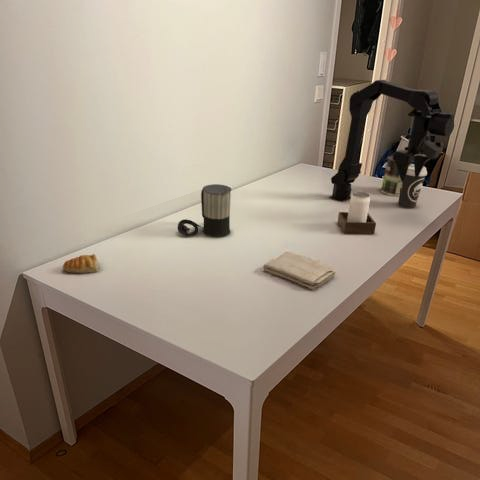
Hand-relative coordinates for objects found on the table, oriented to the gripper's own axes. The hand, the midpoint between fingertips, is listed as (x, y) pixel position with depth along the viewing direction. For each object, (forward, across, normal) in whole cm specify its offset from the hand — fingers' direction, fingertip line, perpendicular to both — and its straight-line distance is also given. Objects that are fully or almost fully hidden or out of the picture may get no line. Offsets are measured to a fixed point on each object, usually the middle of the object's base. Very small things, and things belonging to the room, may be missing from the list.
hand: (409, 178), depth 168 cm
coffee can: (+14, +25, +20) cm, 35 cm away
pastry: (+14, -110, +32) cm, 115 cm away
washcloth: (+15, -64, -8) cm, 66 cm away
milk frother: (+14, -67, +32) cm, 76 cm away
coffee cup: (+15, +14, +7) cm, 22 cm away
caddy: (+14, -23, +4) cm, 27 cm away
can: (+15, -23, +4) cm, 27 cm away
